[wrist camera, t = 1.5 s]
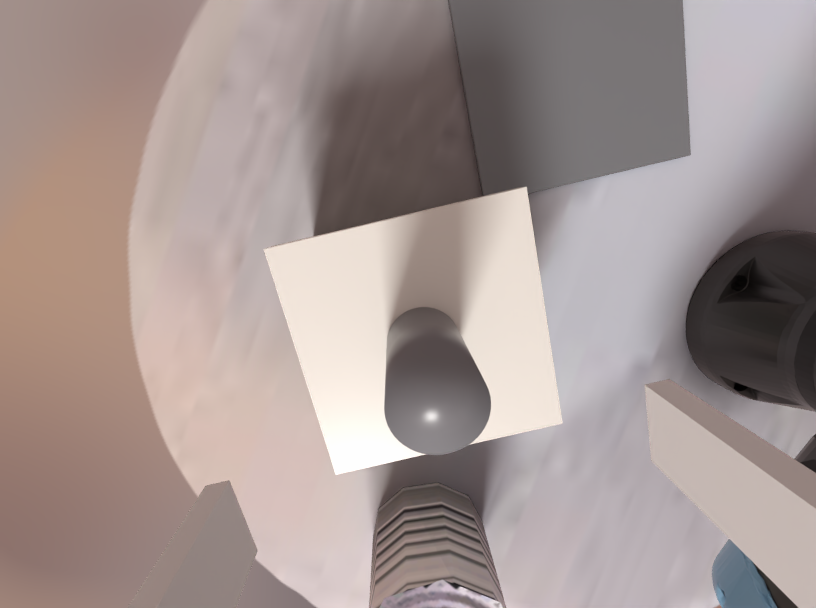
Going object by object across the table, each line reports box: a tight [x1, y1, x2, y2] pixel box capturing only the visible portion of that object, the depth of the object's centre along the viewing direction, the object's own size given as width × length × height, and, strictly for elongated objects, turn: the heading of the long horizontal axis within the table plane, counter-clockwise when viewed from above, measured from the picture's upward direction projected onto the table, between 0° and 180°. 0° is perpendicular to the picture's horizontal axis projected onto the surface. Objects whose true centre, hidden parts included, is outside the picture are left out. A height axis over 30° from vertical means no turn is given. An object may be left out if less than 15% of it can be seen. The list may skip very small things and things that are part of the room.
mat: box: [448, 0, 691, 196], centre depth 31 cm, size 17×17×1 cm
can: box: [369, 483, 506, 608], centre depth 36 cm, size 11×11×12 cm
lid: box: [264, 187, 562, 475], centre depth 22 cm, size 15×15×10 cm
